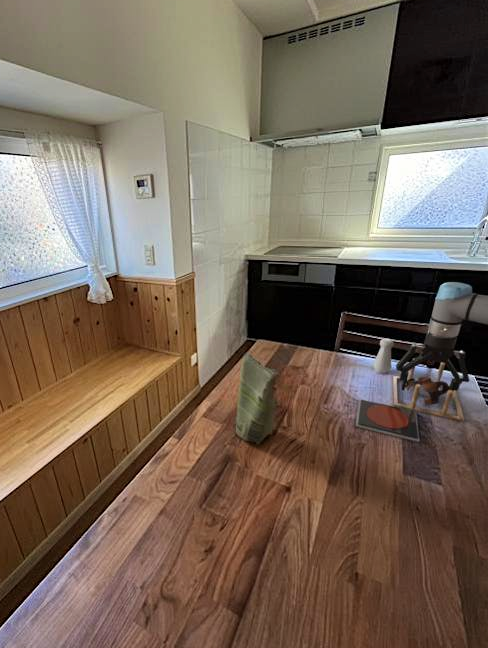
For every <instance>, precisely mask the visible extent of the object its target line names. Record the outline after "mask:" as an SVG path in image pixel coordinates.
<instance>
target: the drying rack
mask: <svg viewBox="0 0 488 648" xmlns="http://www.w3.org/2000/svg"><path fill="white" fill-rule="evenodd" d="M415 358H416V357H413V358H412V360H414V359H415ZM445 366H446V365H445V363H444V362H441V363H440V364H439V368H438V372H437V375H436V379H435V382H439V381H442V380H441V379H442V376H443V372H444V369H445ZM415 370H416V366H415V367H414V368H412V369H411V370H409V371H408V378H407V380H409V379H412V378H414V377H413V376H414V373H415ZM392 380H393V381H392V382H393V383H392V385H393V386H392V387H393V388H392V389H393V407H398V408H403V409H407V410H412V411H415V412H419V413H424V414H428V415H432V416H437V417H442V418H447V419H451V420H457V421H462V422H464V421H465V417H464V413H463V410H462V407H461V404H460V400H459V396H458V394H457V391H455V390H454V391H451V390H448V391H447V392H446V396H445V399H444V402H443V406H442V408H441V411H436V410H431V409H427V408H422V407H416V404H417V400H418V397H419V393H420V390H421V386H422V385H419V384H416V387H415V390H414V389H413V390H414V391H413V394H412V397H411V402H410V405H407V404H403V403H398V402H399V401H398V400H399V399H398V381H401V380H400V376H397V375H393V376H392ZM417 380H418V379H415V381H417ZM439 388H440V389H443V386H442V385H441V386H440V387H439ZM452 394H453V395H452ZM451 397H452V398H451ZM452 399H453V402H454V406H455V410H456V413H457V415H455V414H451V413H447V412H448V409H449V407H450V403H451V400H452Z"/></svg>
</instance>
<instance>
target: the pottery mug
mask: <svg viewBox="0 0 488 648" xmlns="http://www.w3.org/2000/svg"><path fill="white" fill-rule="evenodd" d="M415 380H417V381H415ZM416 384H419V385H421V386H422V387H423V390H424V392H426V393H428V395H429V396H428V397H426V398H423V399H422V400H423V405H424V406H431V405H436V404H438V403H439V401H440V397H441V396H443V395H445V394H447V392H448V390H449V386H450V385H449V383H448V382H446V381H442V380H440V381H439V382H436V381H435V380H433V379H432V377H431V376H419V377H417V379H416V378H415V377H412V379H409V380H407V382H406V386H405V390H407V391H409V390H410V388H412V389H413V390H415V387H416ZM441 385H442V386H443V388H441V387H440V386H441ZM440 388H441V389H440ZM439 389H440V390H439Z"/></svg>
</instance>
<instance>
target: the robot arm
mask: <svg viewBox="0 0 488 648" xmlns="http://www.w3.org/2000/svg"><path fill="white" fill-rule="evenodd" d="M463 320H464V321H470V322H475V323H479V324H484V325H488V295H483V294H478V293H473V286H471V285H470V284H467V283H463V282H459V281H456V282H455V281H450V282H449V281H448V282H444V283H443V284H441V285H440V286H439V288H438V291H437V294H436V297H435V300H434V305H433V309H432V313H431V317H430V320H429V323H428V327H427V332H426V334H425V339H424V342H423V344H422V345H418V344H416V343H415V342H413V343H411V345H410V346H409V347H410V348H409V350H408V351H406V353H405V354H404V355H403V356H402V358H401V359H400V360H399V361H398V362H397V363H396V364H395V370H396V371H400V375H399V377H400V380H399V381H401V386H400V387H401V391H403V392H405V390H406V387H405V386H406V382H407V378H408V376H409V372H410V370H411V369H412V368H414V367H415V368H416V367H417V366H418V365H420V364H421V363H424V362H426V361H428V362H435V363H440V364H441V363H445V366H446V367H447V369H448V370H449V372H450V374H451V375H452V377H451V380H450V384H449V385H448V386H449V390H451V391H454V390H455V391H456V392H457V391H459V389H460V386H461V384H462V383H464V382H465V383H469V382H470V376H469V372H468V369H467V365H466V362H465V360H466V352H465V351H464V350H463V349H460V350H454V349H455V346H456V343H457V339H458V337H457V336H458V335H459V333H460V330H461V326H462V323H463ZM419 351H421V353H420V354H419V355H418V356H417V357H414V355H415V353H418V352H419ZM454 356H455V358H456V359H457V360H458V363H459V366H460V370H461V374H462V375H460V374H459V373H458V372H457V369H456V368H455V366H454V365H453V363H452V362H451V361H450V358H452V357H454ZM412 357H414V358H415V359H414V360H413V359H412V360H411V358H412ZM451 399H453V394H452V397H451Z"/></svg>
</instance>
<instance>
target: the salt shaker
mask: <svg viewBox="0 0 488 648" xmlns="http://www.w3.org/2000/svg"><path fill="white" fill-rule="evenodd" d="M394 345H395V343H394V341H393V340H392V339H390V338H382V339H381V340H380V341H379V346H380V348H379V351H378V353H377V355H376V357H375V360H374V361H373V368H374V372H376V373H378V374H383V375H384V374H387V373H388V372H389V371H390V370H391V369H392V348H393V347H394Z"/></svg>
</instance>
